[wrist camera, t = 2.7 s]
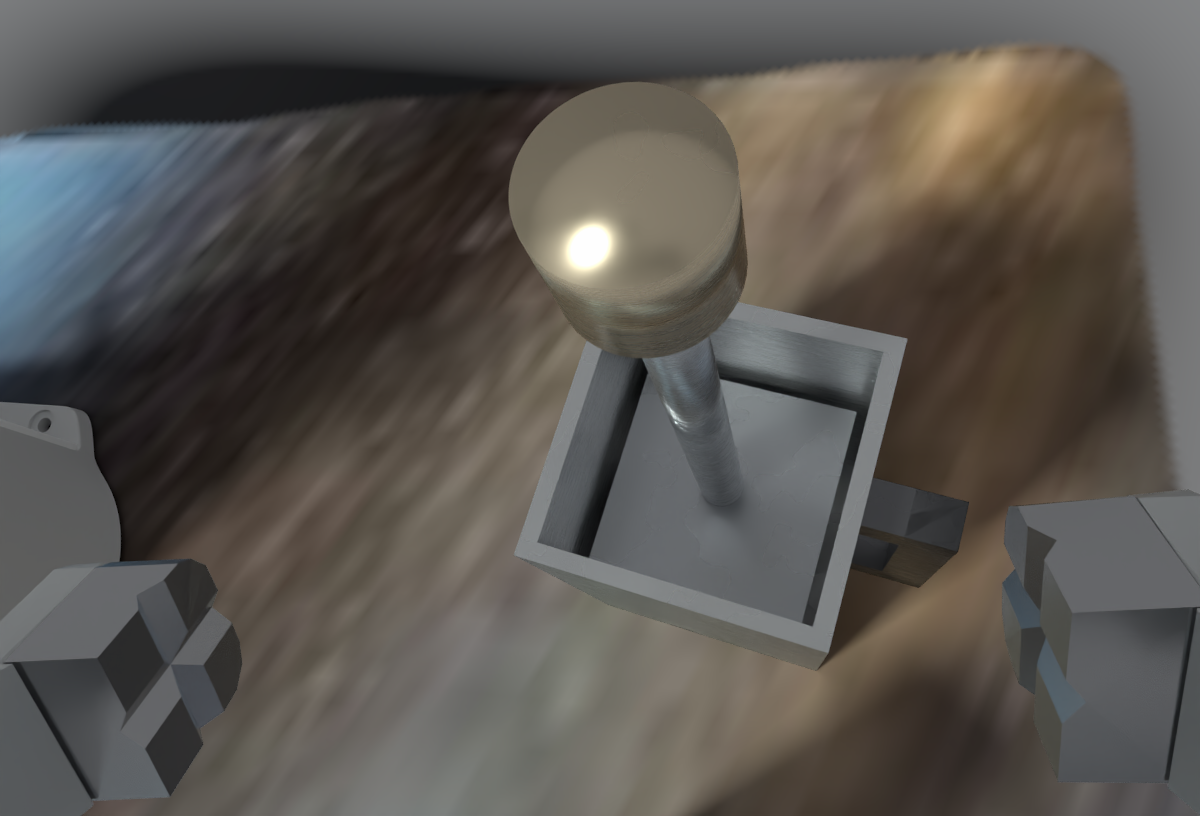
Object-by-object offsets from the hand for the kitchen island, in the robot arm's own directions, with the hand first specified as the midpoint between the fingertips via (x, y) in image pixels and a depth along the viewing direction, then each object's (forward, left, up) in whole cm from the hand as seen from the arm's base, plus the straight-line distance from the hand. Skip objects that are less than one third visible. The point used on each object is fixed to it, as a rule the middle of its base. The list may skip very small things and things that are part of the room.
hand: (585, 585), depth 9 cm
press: (-1, +6, -35) cm, 36 cm away
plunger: (-2, +6, -26) cm, 26 cm away
